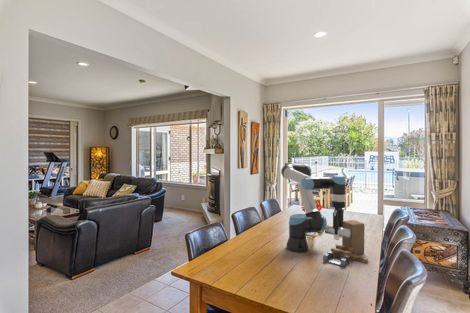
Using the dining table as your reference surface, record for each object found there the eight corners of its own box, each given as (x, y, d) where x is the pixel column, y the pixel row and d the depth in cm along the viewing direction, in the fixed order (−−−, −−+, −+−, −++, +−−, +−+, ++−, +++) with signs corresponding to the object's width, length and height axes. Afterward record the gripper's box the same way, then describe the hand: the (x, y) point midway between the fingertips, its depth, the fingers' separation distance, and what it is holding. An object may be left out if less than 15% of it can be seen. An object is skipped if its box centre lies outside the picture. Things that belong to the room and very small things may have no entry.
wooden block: (351, 255, 173) (352, 224, 173) (341, 249, 183) (342, 220, 183) (364, 253, 176) (364, 223, 176) (354, 248, 185) (354, 219, 185)
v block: (323, 261, 163) (323, 254, 163) (328, 257, 169) (328, 250, 169) (344, 267, 154) (344, 260, 154) (349, 262, 161) (350, 256, 161)
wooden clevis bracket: (330, 256, 171) (330, 248, 171) (337, 251, 179) (337, 244, 179) (365, 265, 157) (365, 256, 157) (370, 259, 165) (370, 251, 165)
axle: (324, 233, 165) (324, 225, 165) (327, 232, 169) (327, 224, 169) (347, 238, 156) (348, 230, 156) (350, 237, 160) (350, 229, 160)
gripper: (340, 203, 152) (339, 243, 153) (349, 199, 166) (348, 236, 167) (327, 202, 157) (326, 240, 158) (337, 198, 171) (336, 233, 172)
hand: (338, 238), depth 162 cm, fingers closed on axle, 5 cm apart
